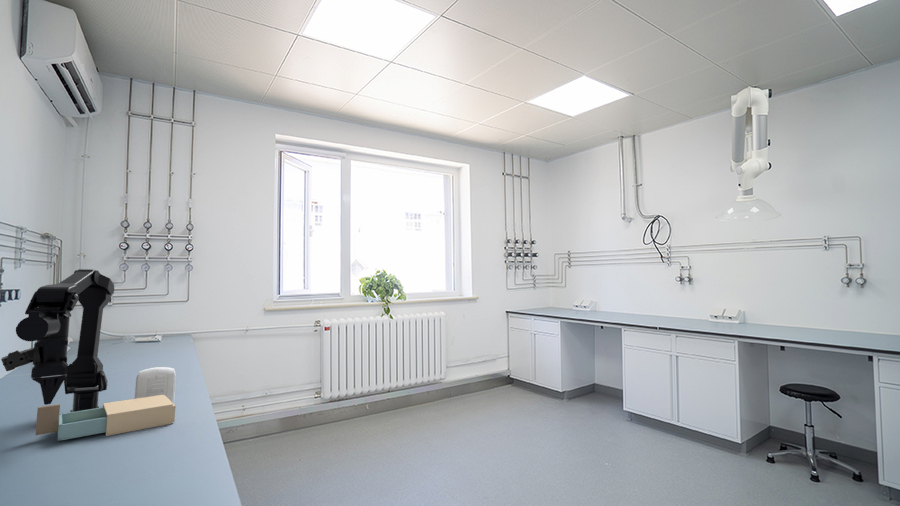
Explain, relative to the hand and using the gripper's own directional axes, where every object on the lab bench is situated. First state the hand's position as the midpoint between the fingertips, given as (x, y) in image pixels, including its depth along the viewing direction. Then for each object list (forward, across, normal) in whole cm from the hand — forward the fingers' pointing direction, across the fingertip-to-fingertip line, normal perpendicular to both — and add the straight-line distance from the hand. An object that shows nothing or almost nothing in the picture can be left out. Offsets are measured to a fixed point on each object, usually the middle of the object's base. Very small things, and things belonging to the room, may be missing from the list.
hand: (47, 400), depth 103 cm
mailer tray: (+9, 0, +7) cm, 11 cm away
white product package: (+10, -14, +24) cm, 30 cm away
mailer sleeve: (+9, 0, +18) cm, 20 cm away
